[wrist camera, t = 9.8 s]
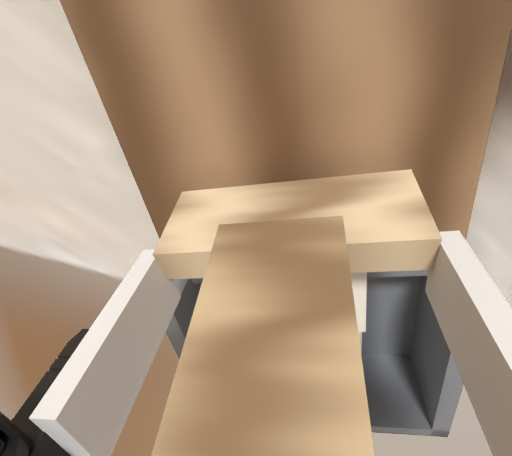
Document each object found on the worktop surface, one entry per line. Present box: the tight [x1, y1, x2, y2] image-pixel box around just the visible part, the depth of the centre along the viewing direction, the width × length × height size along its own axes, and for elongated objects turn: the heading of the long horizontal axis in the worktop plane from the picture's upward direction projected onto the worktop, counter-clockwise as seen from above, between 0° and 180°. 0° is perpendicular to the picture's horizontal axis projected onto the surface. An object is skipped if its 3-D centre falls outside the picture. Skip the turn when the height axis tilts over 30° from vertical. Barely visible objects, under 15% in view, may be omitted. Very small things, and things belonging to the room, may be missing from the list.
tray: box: [166, 270, 464, 437], centre depth 21 cm, size 16×12×6 cm
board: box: [60, 0, 512, 240], centre depth 15 cm, size 16×15×3 cm
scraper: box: [151, 169, 442, 456], centre depth 10 cm, size 10×4×11 cm, turn 99°
